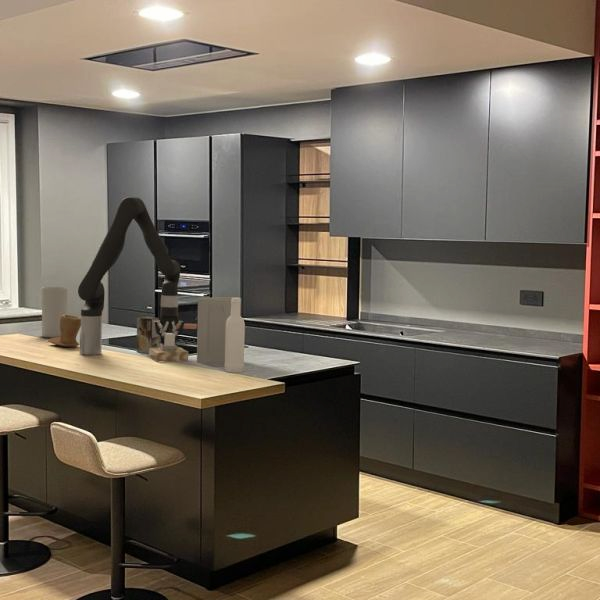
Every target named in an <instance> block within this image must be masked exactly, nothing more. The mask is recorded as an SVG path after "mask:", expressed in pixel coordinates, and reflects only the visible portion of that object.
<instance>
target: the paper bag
mask: <svg viewBox="0 0 600 600" xmlns="http://www.w3.org/2000/svg"><path fill="white" fill-rule="evenodd" d="M232 298H240V301H241V303H240V316H241V317H242V315H241V314H242V298H241V297H239V296H238V297H236V296H228V297H225V296H224V297H223V296H222V297H221V296H219V297H198V298H197V329H196V330H197V331H196V332H197V334H196V335H197V336H196V340H197V341H196V363H197V364H200V365H209V366H222V367H225V337H226V321H227V319H228V318H229V317H230V316H231V299H232Z"/></svg>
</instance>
